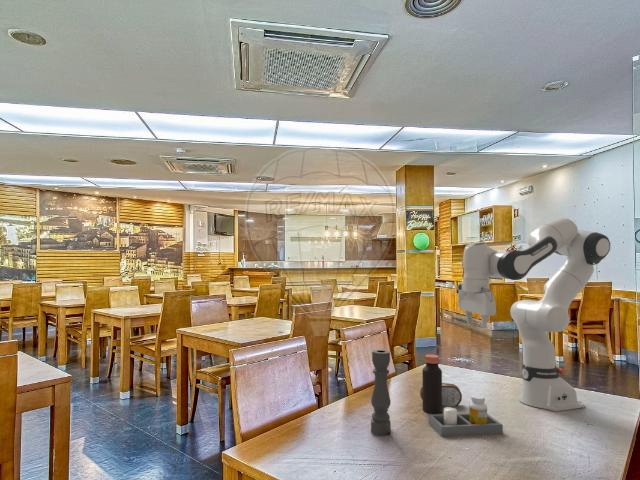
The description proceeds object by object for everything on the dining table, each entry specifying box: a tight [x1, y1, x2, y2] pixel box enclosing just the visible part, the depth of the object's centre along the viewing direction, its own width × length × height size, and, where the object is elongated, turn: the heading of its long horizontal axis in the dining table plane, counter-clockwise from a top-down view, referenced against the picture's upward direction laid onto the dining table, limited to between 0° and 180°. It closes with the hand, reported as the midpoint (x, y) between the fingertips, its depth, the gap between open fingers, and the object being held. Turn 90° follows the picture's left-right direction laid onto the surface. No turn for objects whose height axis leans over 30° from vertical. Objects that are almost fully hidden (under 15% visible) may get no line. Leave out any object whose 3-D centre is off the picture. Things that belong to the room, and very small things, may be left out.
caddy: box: [427, 412, 504, 437], centre depth 129 cm, size 20×10×4 cm, turn 98°
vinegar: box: [421, 354, 443, 415], centre depth 145 cm, size 7×7×20 cm
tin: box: [419, 382, 463, 407], centre depth 152 cm, size 15×3×8 cm, turn 84°
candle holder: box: [370, 349, 392, 437], centre depth 128 cm, size 6×6×25 cm
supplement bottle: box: [468, 394, 488, 424], centre depth 130 cm, size 5×5×10 cm
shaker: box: [443, 406, 458, 426], centre depth 129 cm, size 4×4×6 cm
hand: (476, 325), depth 146 cm, fingers open, 8 cm apart
